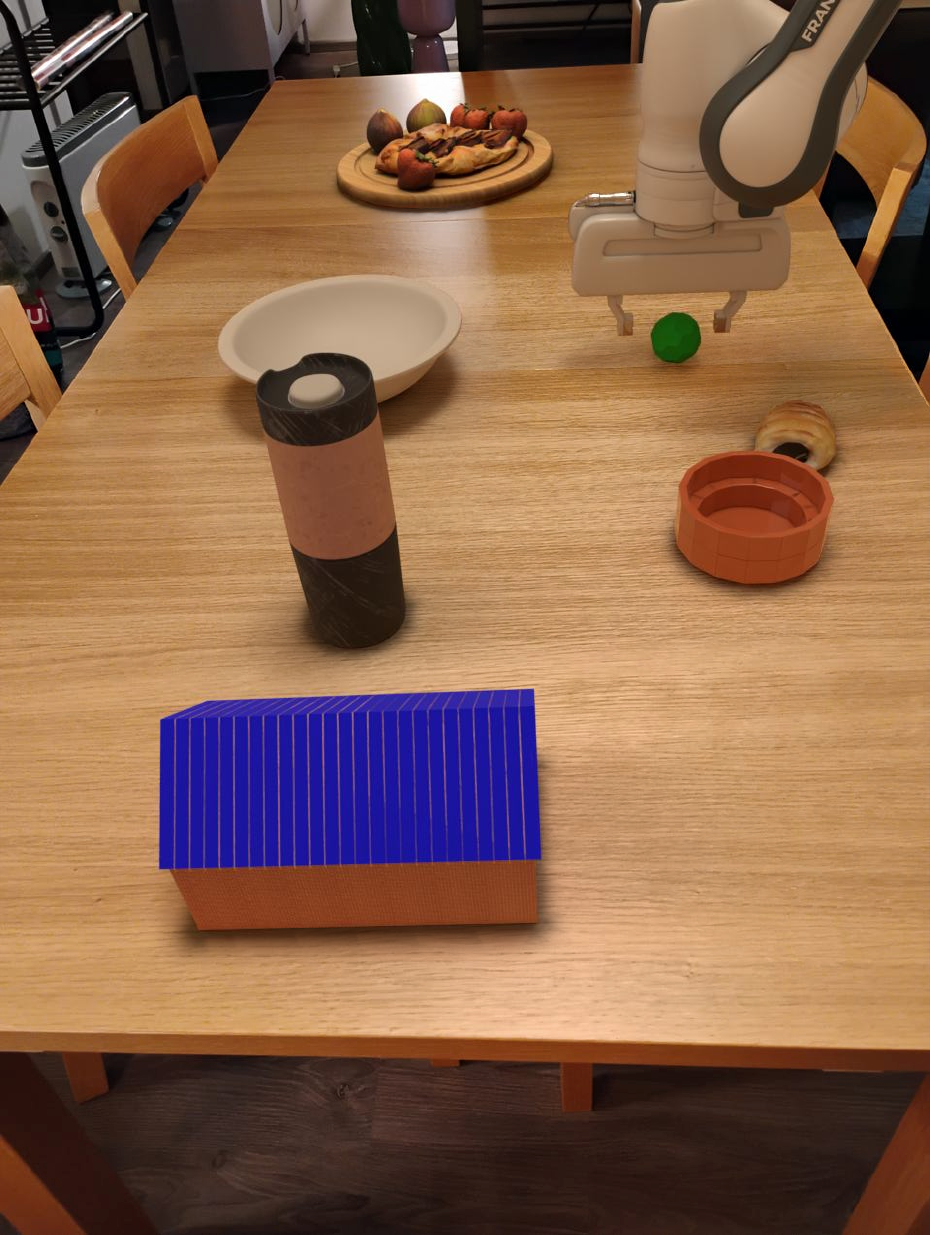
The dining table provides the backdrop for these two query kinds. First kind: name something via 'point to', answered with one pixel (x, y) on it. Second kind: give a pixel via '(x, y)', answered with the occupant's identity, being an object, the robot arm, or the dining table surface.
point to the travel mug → (335, 495)
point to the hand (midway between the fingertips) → (672, 332)
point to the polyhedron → (675, 337)
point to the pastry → (798, 433)
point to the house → (353, 810)
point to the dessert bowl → (752, 516)
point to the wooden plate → (444, 157)
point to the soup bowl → (345, 328)
